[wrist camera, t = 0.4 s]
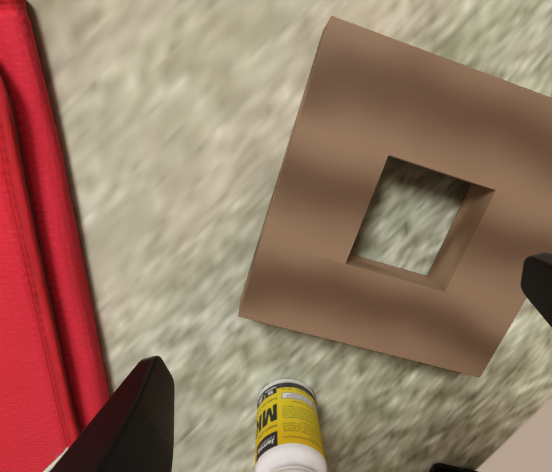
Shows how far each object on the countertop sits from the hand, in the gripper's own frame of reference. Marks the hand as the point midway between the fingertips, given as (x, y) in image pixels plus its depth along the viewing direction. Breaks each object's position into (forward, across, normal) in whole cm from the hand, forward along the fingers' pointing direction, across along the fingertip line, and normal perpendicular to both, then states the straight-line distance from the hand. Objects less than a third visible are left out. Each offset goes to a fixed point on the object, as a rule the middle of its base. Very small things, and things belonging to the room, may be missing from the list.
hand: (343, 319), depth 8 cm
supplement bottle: (+12, +4, +19) cm, 23 cm away
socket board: (+14, -8, +6) cm, 17 cm away
